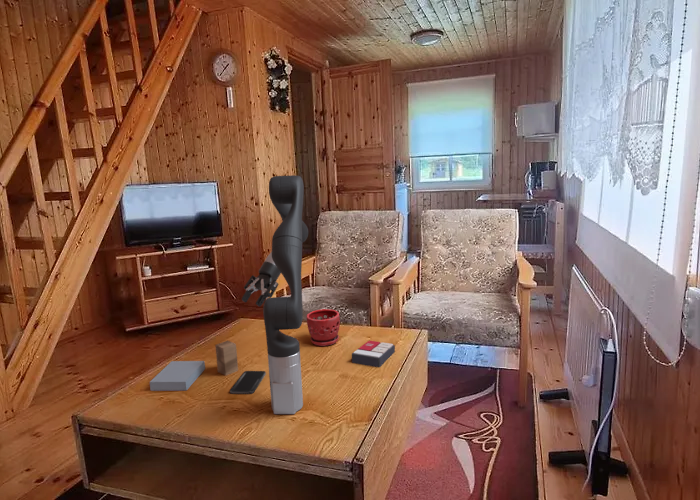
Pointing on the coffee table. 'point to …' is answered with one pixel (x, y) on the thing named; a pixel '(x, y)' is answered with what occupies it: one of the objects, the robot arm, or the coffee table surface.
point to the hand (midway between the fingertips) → (250, 303)
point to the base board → (177, 376)
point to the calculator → (373, 353)
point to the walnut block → (226, 357)
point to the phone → (247, 382)
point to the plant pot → (323, 327)
